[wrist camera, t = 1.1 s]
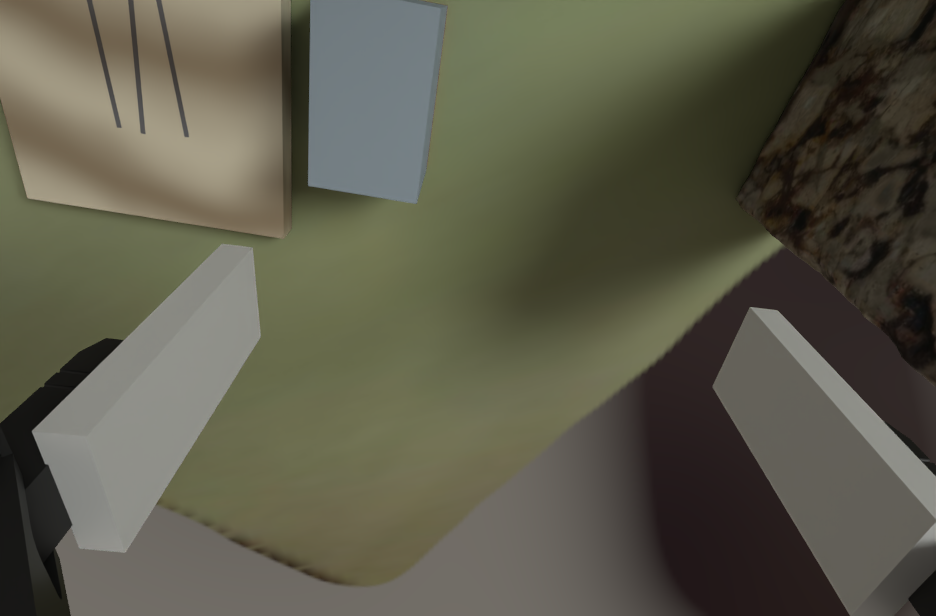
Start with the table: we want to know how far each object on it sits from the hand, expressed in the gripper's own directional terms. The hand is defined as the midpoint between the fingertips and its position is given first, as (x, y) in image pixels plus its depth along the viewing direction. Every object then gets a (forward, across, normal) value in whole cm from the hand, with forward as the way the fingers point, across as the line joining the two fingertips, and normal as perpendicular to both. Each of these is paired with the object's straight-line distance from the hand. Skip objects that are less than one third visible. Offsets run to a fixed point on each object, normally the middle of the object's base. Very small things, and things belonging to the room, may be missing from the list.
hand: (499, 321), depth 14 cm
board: (+17, -18, +4) cm, 25 cm away
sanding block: (+17, -6, +3) cm, 19 cm away
